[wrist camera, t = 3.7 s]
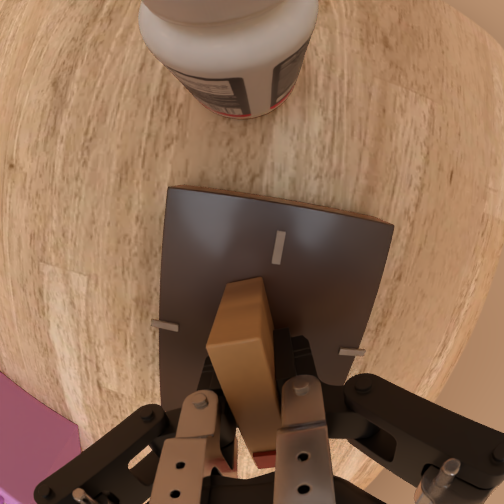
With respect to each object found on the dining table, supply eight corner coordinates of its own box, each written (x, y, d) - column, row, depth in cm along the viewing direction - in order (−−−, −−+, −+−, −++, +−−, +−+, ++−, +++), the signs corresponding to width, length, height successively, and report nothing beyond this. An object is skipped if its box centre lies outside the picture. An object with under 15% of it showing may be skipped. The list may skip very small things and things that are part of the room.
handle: (225, 283, 13) (202, 351, 7) (262, 275, 12) (260, 341, 7) (258, 392, 14) (255, 471, 9) (288, 387, 14) (295, 467, 9)
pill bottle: (267, 17, 11) (267, -118, 2) (315, 96, 13) (390, -15, 3) (175, 57, 12) (80, -48, 3) (216, 139, 13) (127, 76, 4)
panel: (176, 183, 14) (158, 185, 11) (381, 218, 14) (403, 227, 11) (166, 384, 17) (154, 410, 15) (321, 406, 17) (327, 434, 15)
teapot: (-42, 331, 19) (-109, 383, 5) (122, 448, 20) (73, 560, 7) (-18, 404, 23) (-62, 454, 9) (118, 494, 24) (90, 569, 10)
